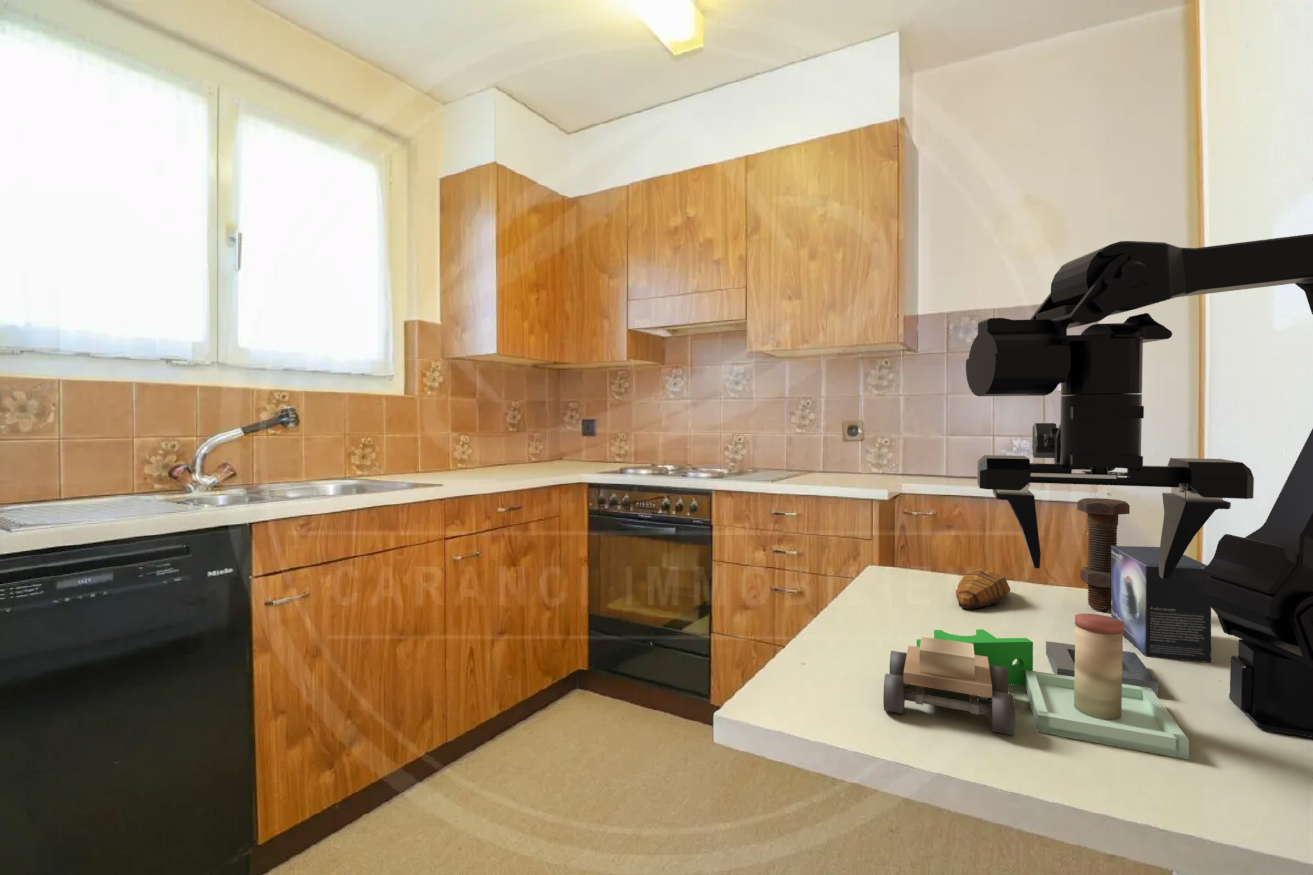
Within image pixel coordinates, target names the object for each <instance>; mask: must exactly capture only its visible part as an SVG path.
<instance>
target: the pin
mask: <svg viewBox="0 0 1313 875" xmlns="http://www.w3.org/2000/svg"><path fill="white" fill-rule="evenodd" d="M1074 625H1075V626H1074V627H1075V630H1074V631H1075V632H1074V633H1075V636H1074V645H1075V663H1074V664H1075V679H1074V707H1075V708H1076V709H1077V710H1079V711H1080V712H1082V713H1085V714H1087V715H1090V716H1093V717H1097V718H1102V719H1119V718H1121V708H1122V658H1123V651H1124V650H1123V648H1124V645H1123V644H1124V636H1123V632H1124V623H1123V622H1122V621H1120V620H1118V619H1115V618H1112V617H1111V616H1107V615H1104V614H1103V615H1102V614H1097V613H1096V614H1095V613H1077V614H1075V615H1074Z"/></svg>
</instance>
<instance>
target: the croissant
mask: <svg viewBox="0 0 1313 875" xmlns="http://www.w3.org/2000/svg"><path fill="white" fill-rule="evenodd" d="M1010 591H1011V587H1010V586H1009V583H1008V581H1007V579H1006V577H1005V576H1003V575H1001V574H998V573H995V572H992V571H991V570H989V569H987V568H985V567H980V568H977V569H973V570H968V571H967V572H966V573H964V575H963V576H962V577H961V579H960V580H959V582H958V584H957V589H956V590H955V596H956V600H957V601H958V607H960V608H963V609H979V608H984V607H988V606H990V605H995V604H998V603H1001V602H1002V601H1003V599H1004V598H1005V597H1006V596H1008V594H1009V593H1010Z"/></svg>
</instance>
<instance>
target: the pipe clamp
mask: <svg viewBox="0 0 1313 875" xmlns="http://www.w3.org/2000/svg"><path fill="white" fill-rule="evenodd" d="M933 638H935V639H942V640H950V641H957V642H965V643H972V644H973V646H974V655H979V656H986V657H988V663H989V665H993V666H1000V667H1006V668H1007V670H1008V683H1009V684H1010V685H1009V686H1025V670H1030V671H1034V641H1032V640H1031V639H1029V638H1027V637H996V636H994V635H993V634H991V633H989V632H988V631H987V630H985V629H983V628H982V629H981V628H980V629H979V628H978V629H976V630H975V634H974V635H958V634H953V633H948V632H946V631H943V630H942V629H934V630H933ZM920 643H921V638H918V639H916V647H920ZM1015 660H1016V662H1015V663H1014V661H1015ZM1011 684H1012V685H1011ZM1013 684H1014V685H1013Z"/></svg>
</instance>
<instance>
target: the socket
mask: <svg viewBox="0 0 1313 875" xmlns="http://www.w3.org/2000/svg"><path fill="white" fill-rule="evenodd" d="M1045 654H1046V657H1047V659H1048V662H1049V665H1050V667H1051V669H1052V672H1053V674H1058V675H1064V676H1071V677H1075V644H1071V643H1063V642H1055V641H1045ZM1122 684H1126V685H1133V686H1140V687H1147V688H1151V689H1152V690H1153V692H1154V693H1155V695H1156V696H1157V697H1159V696H1158V695H1159V694H1158V693H1159V692H1158V690H1159V689H1158V688H1159V687H1158V686H1159V684H1158V681H1157V679H1155V677H1154V675H1153V674H1152V673H1151V671H1150V670H1149V669H1148V668H1147V667H1146V665H1145V664H1144V662H1143V661H1142V660H1141V659H1140V657H1139V656H1138V655H1137V654H1136V652H1134V651H1127V650H1123V658H1122Z"/></svg>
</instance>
